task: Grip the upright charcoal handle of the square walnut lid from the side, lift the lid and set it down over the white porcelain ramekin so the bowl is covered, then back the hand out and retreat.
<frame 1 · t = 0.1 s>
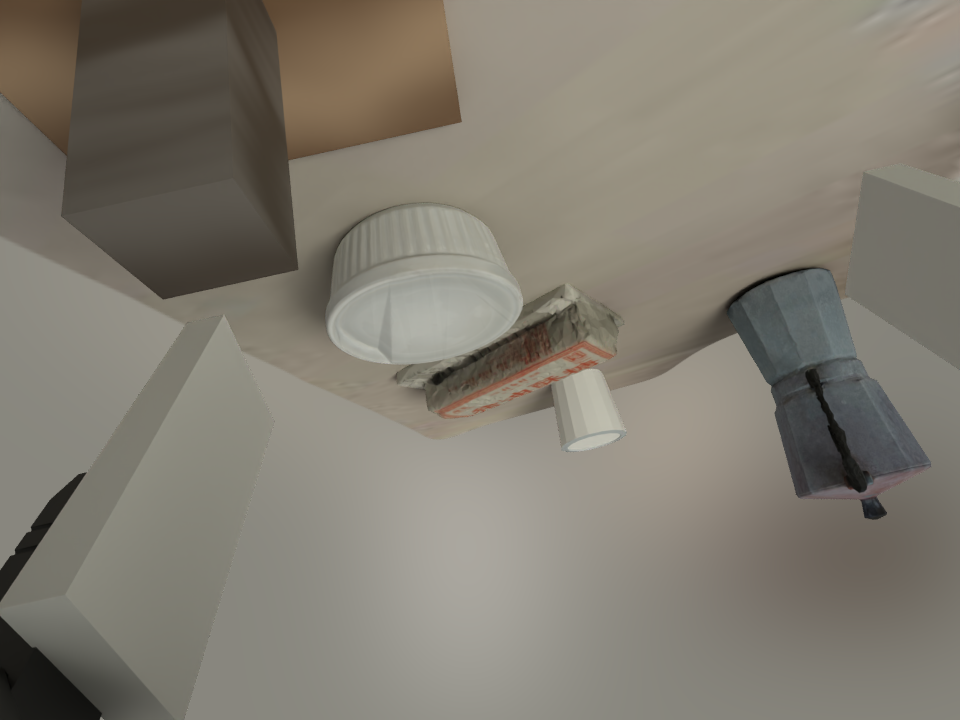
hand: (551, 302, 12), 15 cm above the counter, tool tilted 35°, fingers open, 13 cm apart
packaged product: (505, 338, 52), on the counter
moka pot: (772, 289, 53), on the counter
shot glass: (575, 378, 64), on the counter
ramekin: (413, 245, 36), on the counter
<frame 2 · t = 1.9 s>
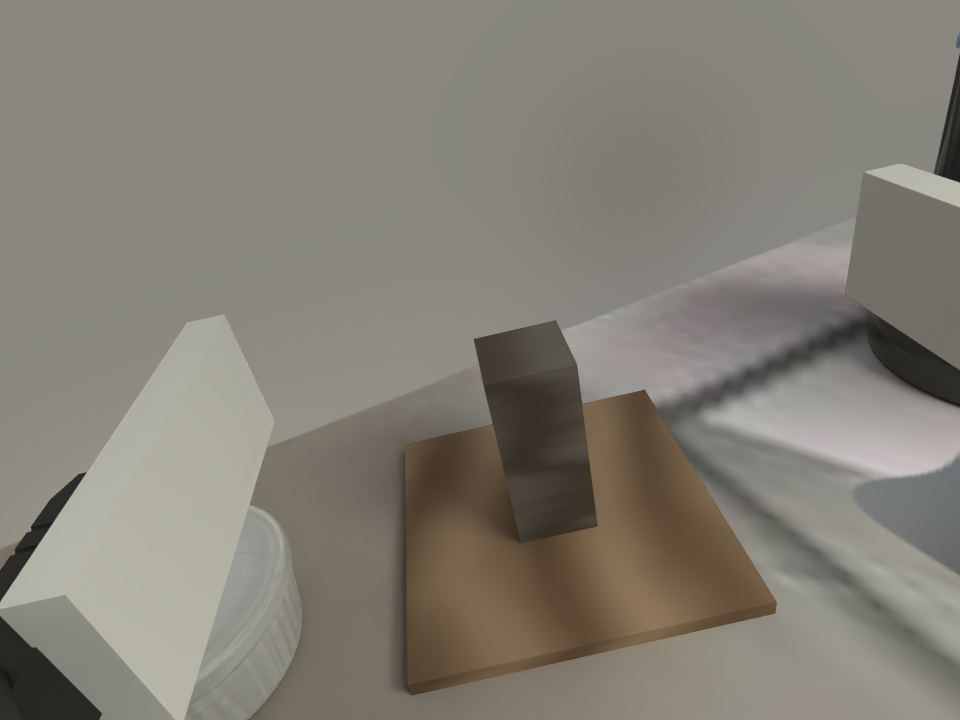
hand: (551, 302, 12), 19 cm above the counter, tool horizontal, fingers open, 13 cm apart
ramekin: (213, 662, 29), on the counter
walnut lid: (553, 521, 33), on the counter
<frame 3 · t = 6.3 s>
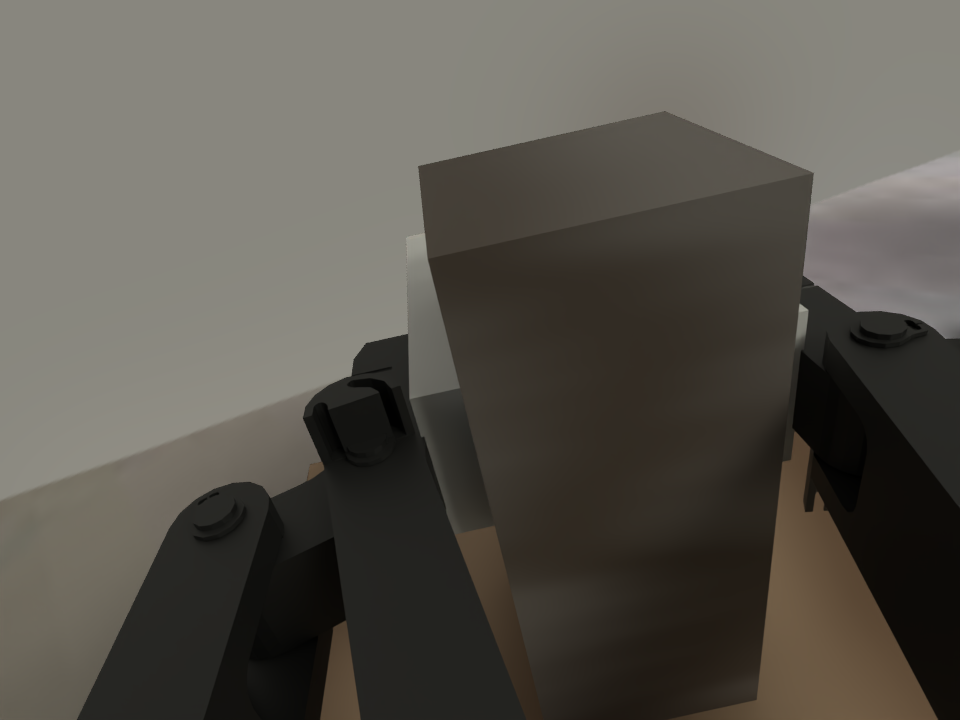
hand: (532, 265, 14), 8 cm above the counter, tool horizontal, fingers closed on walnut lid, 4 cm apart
walnut lid: (623, 659, 14), on the counter, touching gripper
when the fingers open (14 cm above the counter, at t = 11.3 s): walnut lid drops 1 cm, resting on ramekin.
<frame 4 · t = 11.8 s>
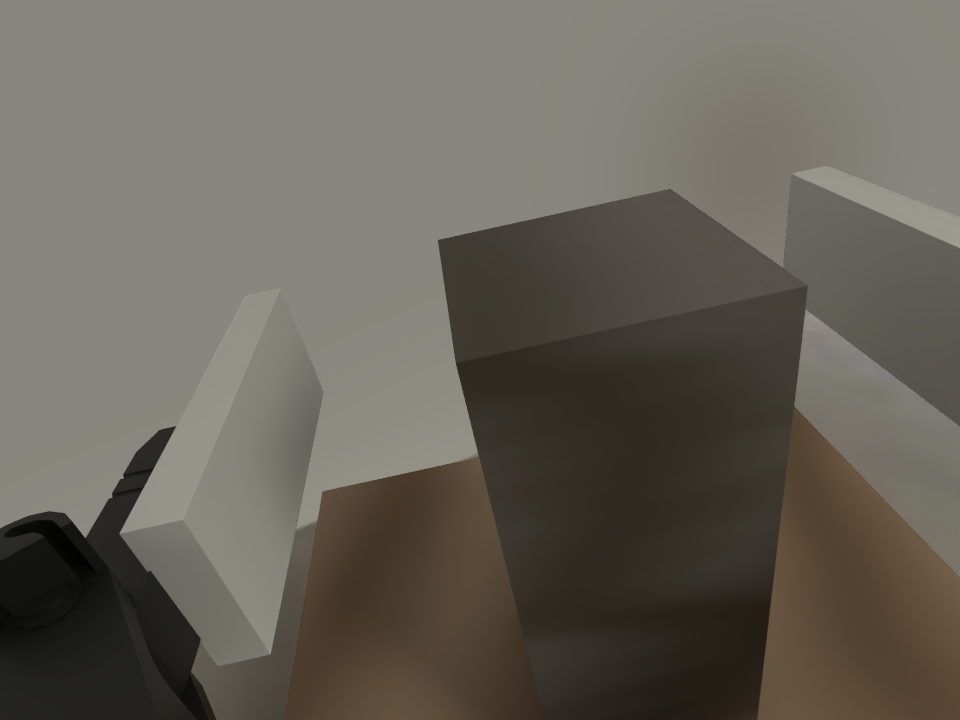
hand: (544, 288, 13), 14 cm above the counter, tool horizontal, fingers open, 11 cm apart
walnut lid: (628, 691, 14), point 5 cm above the counter, touching ramekin
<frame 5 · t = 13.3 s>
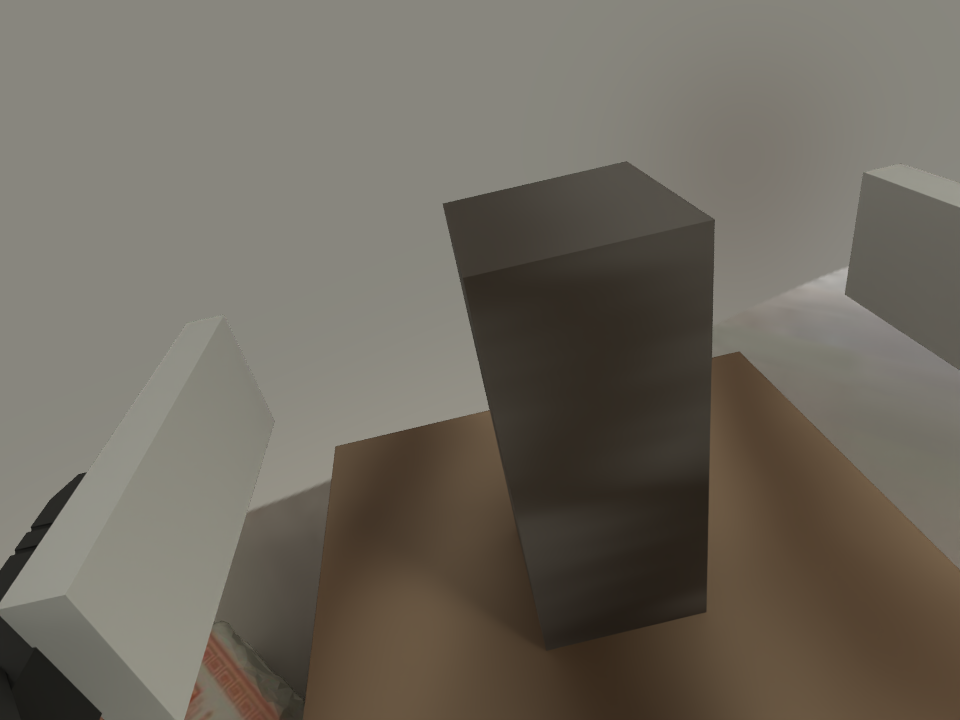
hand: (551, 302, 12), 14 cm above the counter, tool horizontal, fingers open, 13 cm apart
walnut lid: (604, 592, 17), point 5 cm above the counter, touching ramekin
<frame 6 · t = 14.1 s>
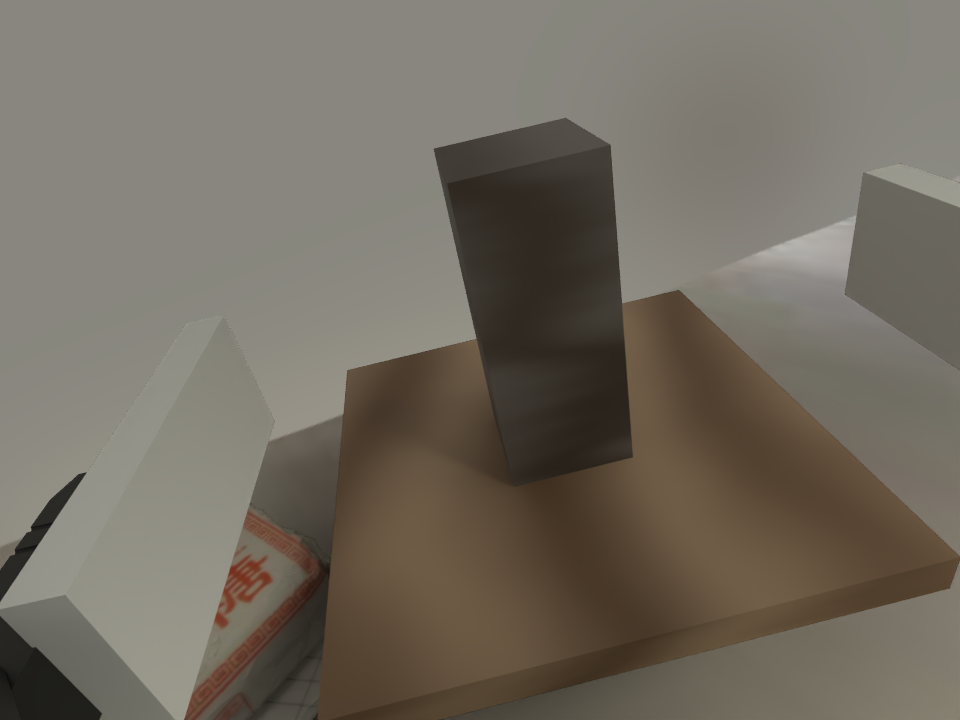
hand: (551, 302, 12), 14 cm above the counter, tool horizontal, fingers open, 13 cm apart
walnut lid: (561, 459, 22), point 5 cm above the counter, touching ramekin
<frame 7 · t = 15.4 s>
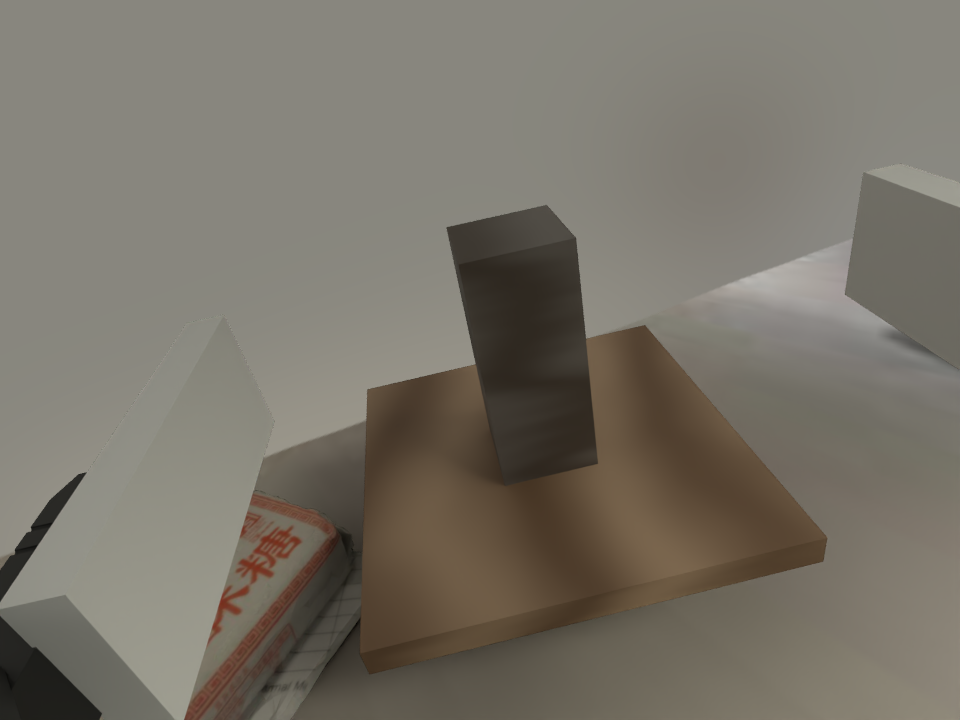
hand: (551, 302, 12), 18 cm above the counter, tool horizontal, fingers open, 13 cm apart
packaged product: (196, 709, 26), on the counter
walnut lid: (543, 465, 27), point 5 cm above the counter, touching ramekin
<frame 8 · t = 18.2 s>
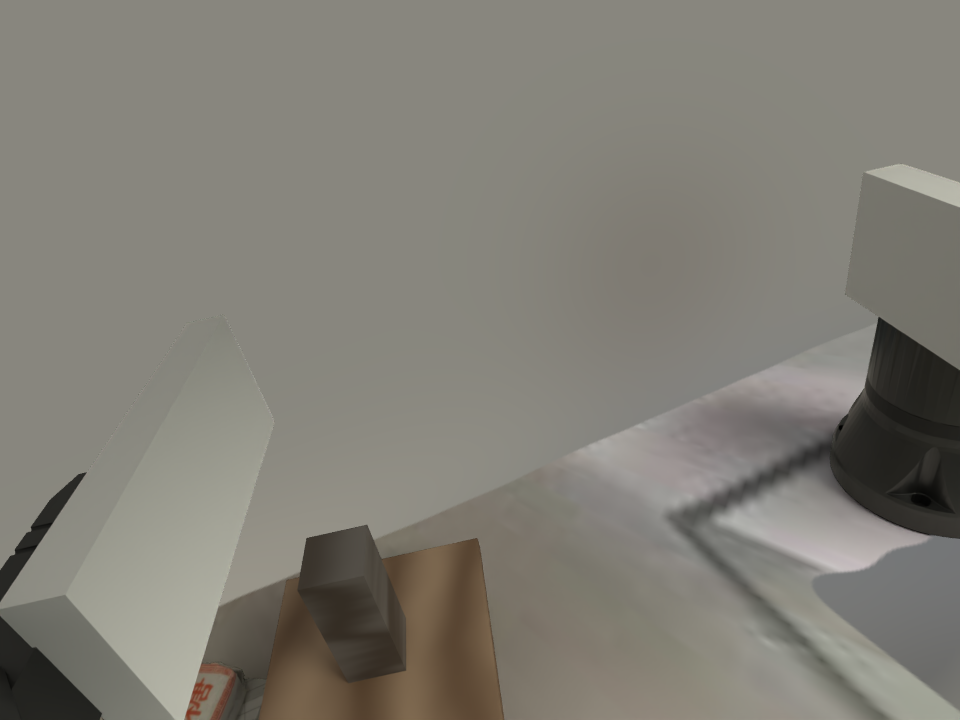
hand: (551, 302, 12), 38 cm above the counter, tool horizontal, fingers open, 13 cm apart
walnut lid: (383, 659, 43), point 5 cm above the counter, touching ramekin
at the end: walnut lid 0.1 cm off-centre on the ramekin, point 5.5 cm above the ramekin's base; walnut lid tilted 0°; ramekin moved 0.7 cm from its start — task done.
